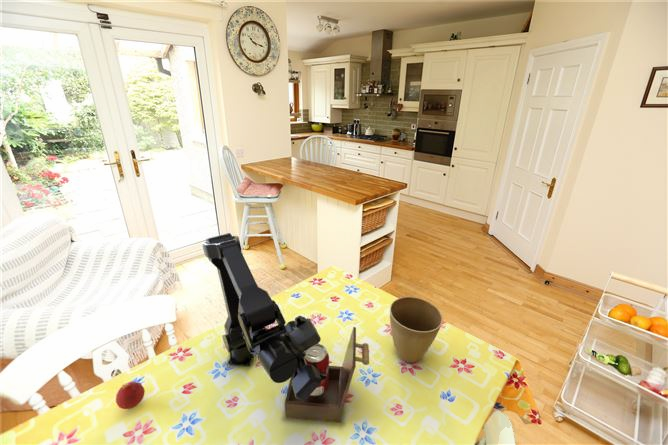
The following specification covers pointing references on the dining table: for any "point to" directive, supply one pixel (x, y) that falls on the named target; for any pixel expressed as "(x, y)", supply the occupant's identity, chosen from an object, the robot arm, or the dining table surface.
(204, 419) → the dining table surface
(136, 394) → the onion
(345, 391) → the chest lid
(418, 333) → the plant pot
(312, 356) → the soda can
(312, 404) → the chest
